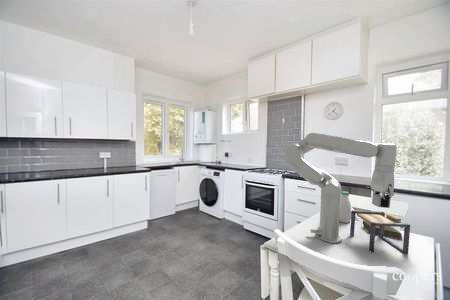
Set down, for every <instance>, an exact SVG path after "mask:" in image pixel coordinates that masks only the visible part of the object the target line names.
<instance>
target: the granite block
mask: <svg viewBox="0 0 450 300" xmlns="http://www.w3.org/2000/svg"><path fill="white" fill-rule="evenodd" d="M391 198H392V197H391ZM391 198H390V200H389V206H388V208H386V207H381V199H383V198H382V194H380V195H378V194H373V193H372V199H371V205H373V206H376V207H377V208H385V209H390V207H391Z"/></svg>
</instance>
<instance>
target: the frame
mask: <svg viewBox="0 0 450 300" xmlns="http://www.w3.org/2000/svg"><path fill="white" fill-rule="evenodd" d="M357 214H374V215H382V216H384V217H386V216H385V215H386V213H385V212H384V211H371V210H370V211H369V210H352V209H351V215H350V227H349V228H350V231H349V236H350V235H351V236H350V237H355V227H356V225H355V224H356V215H357ZM376 226H379V235H378V238H380V239H381V240H383V241H384V242H386V243H388V244H389V245H390V246H392V247H393V248H395V249H397V250H398V251H400V252H401V253H402V254H404V255H409V246H410V233H411V224H409V223H403V222H401V223H384V222H371V227H370V232H369V244H368V246H369V247H368V251H369V252H370V251H371V252H370V253H374V252H375V239H376V234H375V228H376ZM384 226H390V227H393V228H394V227H400V228H401V229H404V231H403V241H402V242H403V244H402V247H401V246H399V245H398V244H396V243H394V242H393V241H391V240H390V239H388V237H386V236H383V233H384Z"/></svg>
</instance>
